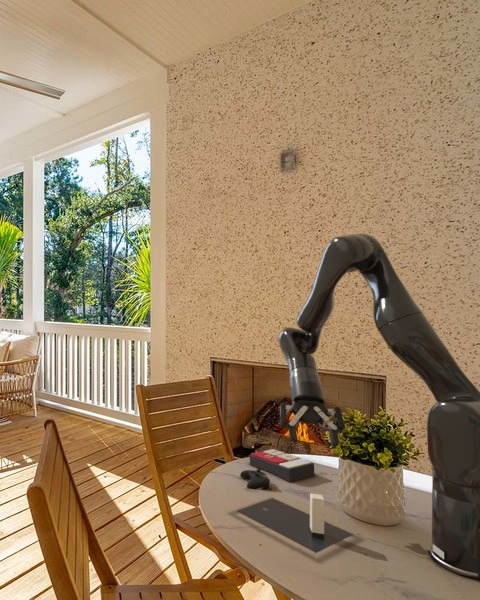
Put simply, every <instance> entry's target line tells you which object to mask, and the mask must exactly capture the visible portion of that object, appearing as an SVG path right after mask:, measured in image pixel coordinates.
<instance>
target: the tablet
mask: <svg viewBox="0 0 480 600" xmlns="http://www.w3.org/2000/svg"><path fill="white" fill-rule="evenodd" d="M236 513H239V514H241V515H243V516H245V517H247V518H248V519H251V520H252V521H254V522H256V523H258V524H260V525H261V526H264V527H266V528H267V529H269V530H271V531H273V532H275V533H277V534H279V535H280V536H283V537H284V538H287V539H289V540H291V541H292V542H294V543H296V544H298V545H300V546H302V547H304V548H305V549H307V550H309V551H311V552H313V553H315V554H317V553H319V552H321V551H324V550H325V549H327V548H329V547H331V546H333V545H335V544H337V543H339V542H341V541H343V540H345V539H347V538H349V537H351V536H353V535H354V534H353V533H351V532H349V531H347V530H344V529H342V528H339V527H338V526H335V525H333V524H331V523H328V522H326V521H324V538H321V537H315V536H312V535H311V532H310V513H307V512H305V511H302V510H300V509H297V508H295V507H293V506H291V505H289V504H287V503H284V502H283V501H280V500H278V499H275V498H273V497H272V498H269V499H265V500H263V501H260V502H257V503H254V504H252V505H249V506H246V507H243V508H241V509H238V510H236Z"/></svg>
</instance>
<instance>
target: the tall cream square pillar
mask: <svg viewBox="0 0 480 600" xmlns="http://www.w3.org/2000/svg"><path fill="white" fill-rule="evenodd" d="M309 515H310V532H311V535H312V536H315V537H321V538H324V522H325V498H324V496H323V495H322V494H319V493H309Z"/></svg>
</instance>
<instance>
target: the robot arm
mask: <svg viewBox="0 0 480 600" xmlns="http://www.w3.org/2000/svg"><path fill="white" fill-rule="evenodd" d="M357 272H358V273H359V274H360V275H361V277H362V278H363V279H364V281H365V282H366V284H367V285H368V287H369V290H370V292H371V295H372V319H373V323H374V327H375V328H376V330H377V331H378V334H380V336H381V338H382V339H383V341H384V342H385V344H386V345H387V347H388V349H390V351H391V352H392V353H393V354H394V355H395V356H396V357H397V358H398V359H399V360H400V361H401V362H402V363H403V364H405V366H407V367H408V368H409V369H410V370H411V371H413V372H414V373H415V374H416V375H417V376H418V377H419V378H420V379H421V380H422V381H423V383H425V385H426V386H427V388H428V389H429V391H430V392H431V394H432V396H433V397H434V400H436V402H435V403H434V404H432V406H431V408H430V409H429V411H428V414H427V417H426V418H427V419H426V438H427V439H426V441H427V442H426V443H427V456H428V460H429V461H430V464H431V466H432V471H431V472H432V476H431V477H432V481H431V484H432V485H431V487H432V488H431V550H430V556H431V558H432V560H434V562H436V563H437V564H438V565H440V566H441V567H443V568H445V569H446V570H448V571H451V572H452V573H453V572H454V573H456V574H458V575H461V576H465V577H468V578H472V579H478V580H480V391H479V389H478V388H477V386H476V385H474V383H473V382H472V380H470V379H469V377H468V376H467V375H466V374H465V372H464V371H463V370H462V368H461V367H460V365H459V364H458V363H457V361H456V359H455V358H454V356H453V355H452V354H451V352H450V350H449V349H448V347H447V346H446V345H445V343H444V341H443V340H442V338H441V337H440V336H439V334H438V332H437V331H436V329H435V328H434V326H433V324H432V323H431V322H430V320H429V318H428V317H427V316H426V314H425V313H424V312H423V310H422V309H421V308H420V306H419V305H418V304H417V303H416V301H415V300H414V298H413V297H412V295H411V294H410V292H409V291H408V289H407V288H406V285H404V283H403V281H402V280H401V278H400V276H399V275H398V274H397V272H396V270H395V268H394V266H393V264H392V262H391V261H390V259H389V257H388V255H387V253H386V251H385V249H384V248H383V246H382V244H381V243H380V241H379V240H378V239H377V238H376V237H375V236H373V235H371V234H369V233H354V234H353V233H352V234H345V235H339V236H336V237H334V238H332V239H331V240H330V241H329V242H328V243H327V244H326V246H325V249H324V251H323V254H322V255H321V259H320V263H319V265H318V269H317V272H316V274H315V277H314V281H313V284H312V287H311V290H310V292H309V294H308V297H307V299H306V301H305V302H304V304H303V305H302V308H301V309H300V311H299V313H298V315H297V317H296V318H295V322H296V325H297V326H298V328H295V327H289V326H288V327H284V328H283V329H282V330H281V331H280V332H279V334H278V345H279V348H280V350H281V353H282V354H283V357H284V358H285V361H286V362H287V364H288V365H287V366H288V373H289V390H290V396H291V397H290V398H291V403H292V404H291V405H288V404H286V403H285V402H281V403H280V406H279V427H280V428H283V429H284V428H285V429H287V430H288V436H289V441H290V442H292V444H293V445H297V443H298V434H297V427H298V426H299V425H300V423H301V422H302V423H303V424H306V425H309V424H311V425H318V424H319V425H320V427H322V428H323V429H325V430H326V431H327V432H328V433H329V435H328V436H329V440H330V441H329V442H330V446H331V448H332V449H336V448H337V447H338V446H339V443H340V439H339V436H338V434H343V433H344V430H345V428H346V425H345V421H344V417H343V414H342V411H341V408H340V407H339V406H335V407H334V408H328V407H327V406H326V403H325V397H324V393H323V388H322V387H323V386H322V382H321V378H320V375H319V371H318V365H317V361H316V359H315V357H314V355H313V354H315V353H316V352H317V351H318V349H319V345H320V339H321V336H322V331H323V330H324V326H325V325H326V323H327V322H328V321H329V319H330V318H331V315H332V314H333V312H334V309H335V305H336V303H335V300H336V299H335V290H336V288H337V285H338V283H339V282H340V281H341V280H342V278H343V277H344V276H345V275H346V274H348V273H349V274H350V273H357ZM289 412H291V413H292V414H293V415H294V416H293V418H292V419H291V420H289V421H288V420H287V414H289ZM327 415H330V417H331V418H332V419H334V418H335V419H334V422H333V421H332V420H331V419H330V418H329V417H328V416H327ZM334 423H335V424H334Z"/></svg>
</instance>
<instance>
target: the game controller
mask: <svg viewBox="0 0 480 600" xmlns="http://www.w3.org/2000/svg"><path fill="white" fill-rule="evenodd" d="M261 470H262V469H261V468H257V469H256V470H252V469H245V470H243V471H241V472H240V474H239V476H240V478H241V479H243V480H248V482H247V484H246V489H249V490H259V489H264V490H269V489H271V487H270V484H271V479H270V478H269V477H268V476H267V474H266V473H265V472H264V471H261Z"/></svg>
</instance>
